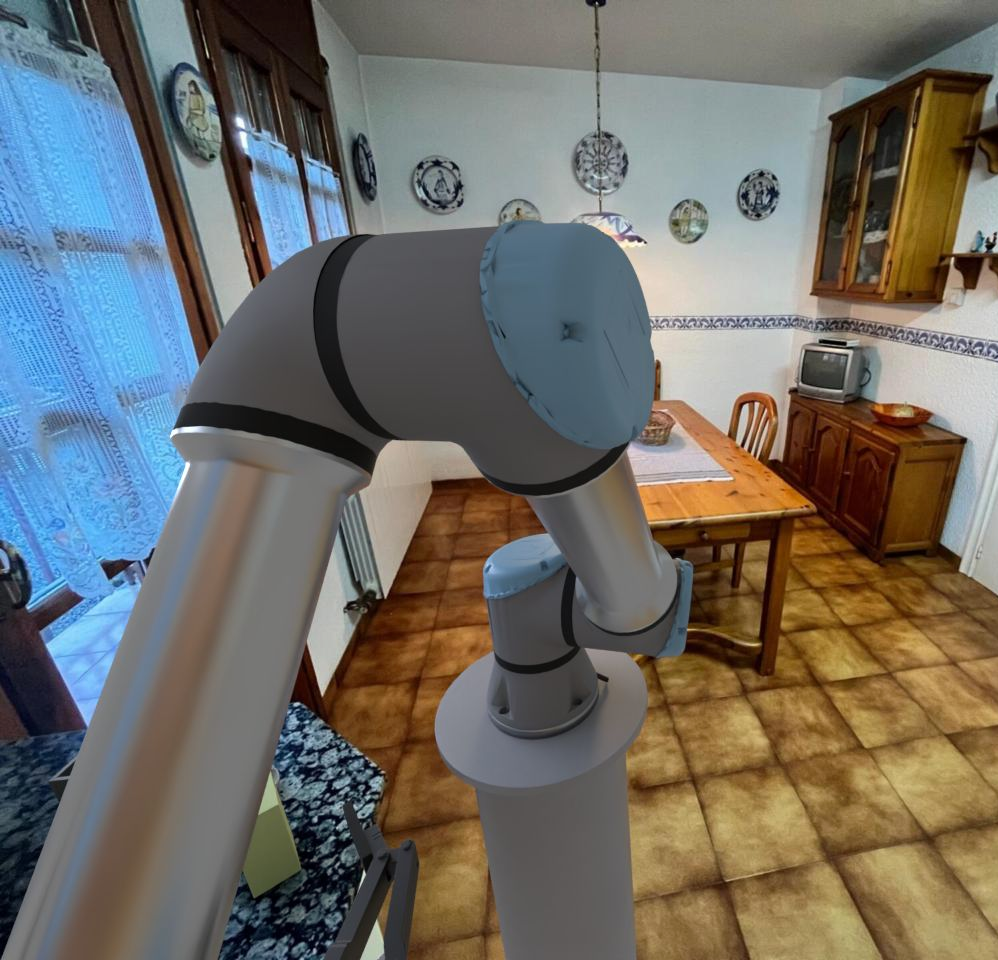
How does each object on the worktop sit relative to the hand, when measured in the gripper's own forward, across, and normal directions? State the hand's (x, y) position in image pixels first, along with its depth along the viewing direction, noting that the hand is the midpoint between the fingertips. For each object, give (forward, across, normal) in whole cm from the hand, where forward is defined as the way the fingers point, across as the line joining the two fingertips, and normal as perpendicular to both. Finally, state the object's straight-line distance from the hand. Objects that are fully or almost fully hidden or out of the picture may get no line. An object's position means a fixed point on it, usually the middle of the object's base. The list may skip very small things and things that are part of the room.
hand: (260, 865), depth 43 cm
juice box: (+10, 0, -10) cm, 14 cm away
